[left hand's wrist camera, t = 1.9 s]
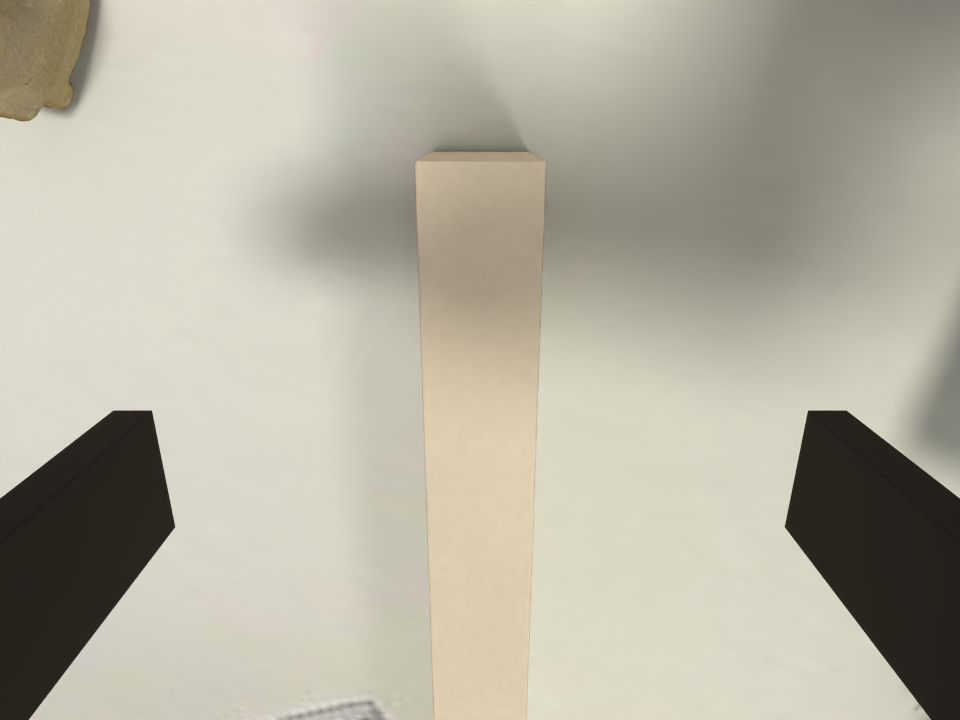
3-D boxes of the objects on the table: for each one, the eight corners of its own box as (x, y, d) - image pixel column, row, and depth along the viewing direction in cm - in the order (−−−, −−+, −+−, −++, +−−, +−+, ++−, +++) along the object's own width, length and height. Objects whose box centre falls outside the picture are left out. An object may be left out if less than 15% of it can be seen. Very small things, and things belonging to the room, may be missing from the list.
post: (431, 151, 30) (414, 160, 22) (529, 151, 30) (546, 160, 22) (450, 901, 50) (445, 1047, 42) (509, 901, 50) (515, 1047, 42)
